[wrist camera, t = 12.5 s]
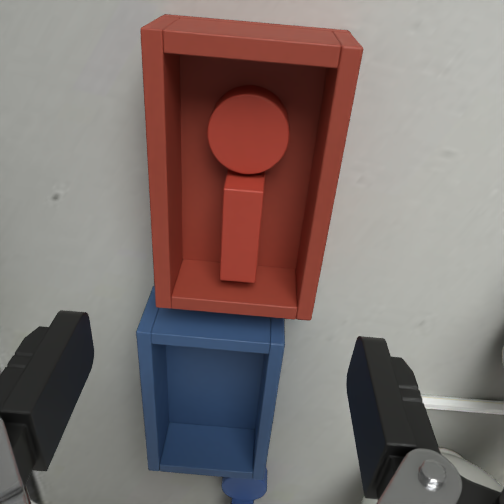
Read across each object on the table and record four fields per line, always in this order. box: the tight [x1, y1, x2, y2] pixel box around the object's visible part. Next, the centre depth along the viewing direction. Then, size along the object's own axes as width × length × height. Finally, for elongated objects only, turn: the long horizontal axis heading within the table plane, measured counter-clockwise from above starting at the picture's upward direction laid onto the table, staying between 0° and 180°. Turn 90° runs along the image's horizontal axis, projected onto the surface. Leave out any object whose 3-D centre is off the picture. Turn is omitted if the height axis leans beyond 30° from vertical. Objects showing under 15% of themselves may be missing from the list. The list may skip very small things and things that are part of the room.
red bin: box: [140, 14, 363, 320], centre depth 19 cm, size 7×11×4 cm, turn 176°
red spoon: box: [207, 85, 290, 283], centre depth 19 cm, size 8×3×2 cm, turn 176°
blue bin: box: [136, 286, 285, 480], centre depth 26 cm, size 7×11×4 cm, turn 176°
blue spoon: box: [222, 468, 267, 504], centre depth 34 cm, size 8×3×2 cm, turn 176°
